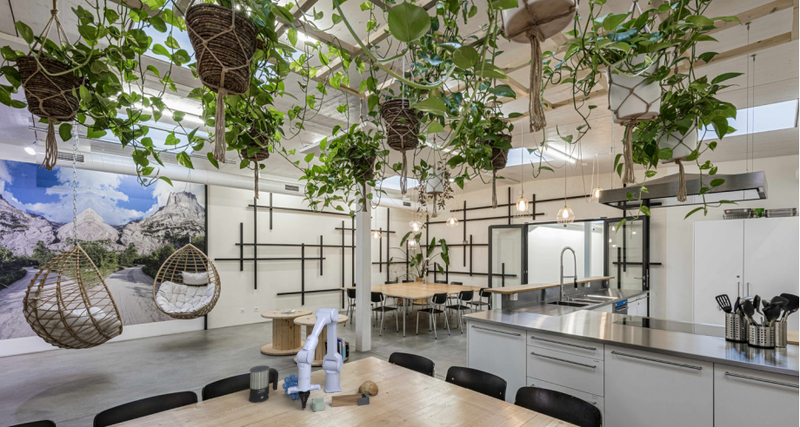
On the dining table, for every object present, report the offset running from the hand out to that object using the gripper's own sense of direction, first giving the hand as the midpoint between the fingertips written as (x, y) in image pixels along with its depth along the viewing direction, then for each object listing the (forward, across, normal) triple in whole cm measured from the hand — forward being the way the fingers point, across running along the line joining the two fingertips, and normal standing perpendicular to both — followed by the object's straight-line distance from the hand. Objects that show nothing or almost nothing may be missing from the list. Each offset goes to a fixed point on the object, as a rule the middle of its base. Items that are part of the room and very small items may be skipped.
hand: (303, 407), depth 171 cm
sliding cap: (+1, +7, 0) cm, 7 cm away
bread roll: (+1, +33, +10) cm, 34 cm away
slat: (+1, +20, 0) cm, 20 cm away
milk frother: (+1, -20, +24) cm, 31 cm away
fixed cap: (+1, +27, 0) cm, 27 cm away
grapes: (+1, -4, +13) cm, 14 cm away
